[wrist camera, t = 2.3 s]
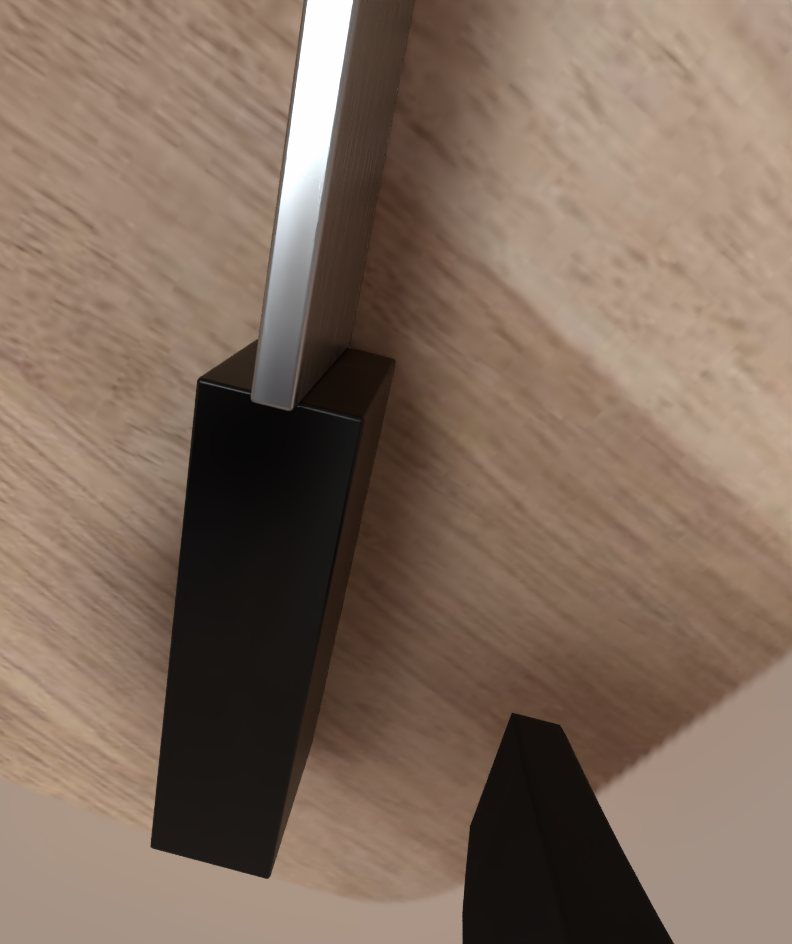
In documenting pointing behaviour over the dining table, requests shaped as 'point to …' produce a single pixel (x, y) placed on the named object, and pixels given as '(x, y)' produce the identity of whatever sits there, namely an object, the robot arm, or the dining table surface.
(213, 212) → the dining table surface
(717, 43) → the dining table surface
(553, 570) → the dining table surface
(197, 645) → the cake knife
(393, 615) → the dining table surface
